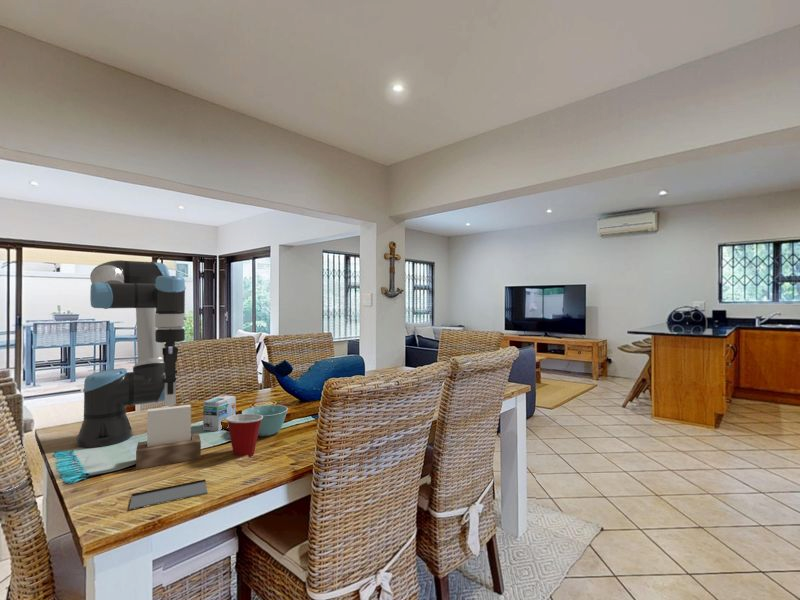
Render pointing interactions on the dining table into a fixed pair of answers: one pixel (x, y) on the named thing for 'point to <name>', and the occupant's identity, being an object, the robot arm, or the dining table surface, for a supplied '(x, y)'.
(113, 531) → the dining table surface
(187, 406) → the rectangular insert block
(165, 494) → the rubber mat
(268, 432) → the bowl
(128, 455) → the dining table surface
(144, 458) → the slot box
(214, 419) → the light bulb box
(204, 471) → the dining table surface
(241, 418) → the plastic cup
